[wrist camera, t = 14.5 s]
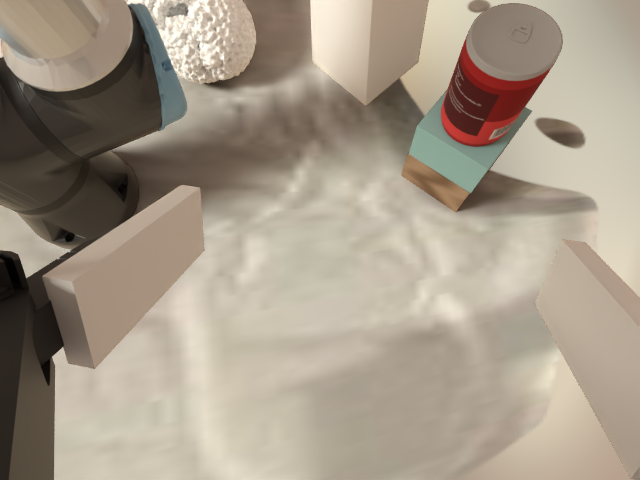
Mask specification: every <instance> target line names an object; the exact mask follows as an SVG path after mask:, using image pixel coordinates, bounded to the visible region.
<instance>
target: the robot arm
mask: <svg viewBox="0 0 640 480" xmlns="http://www.w3.org/2000/svg"><path fill="white" fill-rule="evenodd" d="M0 38H1V48H2V53H3V57H2V58H0V205H2V206H5V207H7V208H9V209H11V210H13V211H15V212H17V213H18V214H19V215H20V216H21V218H22V219H23V220H24V221H25V222H26V223H27V224H28V225H29V226H30V227H31V228H32V230H33V231H34V232H35V233H36V234H37V235H39V236H40V237H41V238H43V239H44V240H46V241H48V242H50V243H53V244H55V245H57V246H60V247H63V248H66V249H72V250H71V251H70V253H69V252H68V253H66V254H64V255H63V256H61V257H60V259H59V260H58V259H56V260H55V261H53V262H52V263H50V264H49V265H47V266H45V267H44V268H42V269H41V270H39V271H38V272H36V273H34V274H33V275H31V276H30V277H28V278H27V279H26V276H25V273H24V270H23V267H22V264H21V261H20V258H19V256H18V254H16V253H14V252H11V251H0V480H54V414H55V365H54V362H53V359H52V356H53V355H54V354H55V353H57V352H58V351H59V350H60V349H61V348H62V347H64V351H65V354H66V357H67V361H68V363H69V364H74V365H78V366H83V367H88V368H93V369H95V368H96V367H97V366H98V365H99V364H100V363H101V362H102V361H103V360H104V358H105V357H106V356H107V355H108V354H109V353H110V352H111V351H112V350H113V349H114V348H115V347H116V345H117V344H118V343H119V342H120V341H121V340H122V339H123V338H124V337H125V336H126V335H127V334H128V332H129V331H130V330H131V329H132V328H133V327H134V326H135V325H136V324H137V323H138V322H139V321H140V319H141V318H142V317H143V316H144V315H145V314H146V313H147V312H148V311H149V310H150V309H151V308H152V306H153V305H154V304H155V303H156V302H157V301H158V300H159V299H160V298H161V297H162V296H163V295H164V293H165V292H166V291H167V290H168V289H169V288H170V287H171V286H172V285H173V284H174V283H175V282H176V280H177V279H178V278H179V277H180V276H181V275H182V274H183V273H184V272H185V271H186V270H187V269H188V267H189V266H190V265H191V264H192V263H193V262H194V261H195V260H196V259H197V258H198V257H199V256H200V254H201V253H202V252H203V251H204V237H203V221H202V206H201V191H200V187H193V186H187V185H180V186H179V187H177V188H176V189H174V190H173V191H171V192H170V193H168V194H167V195H165V196H163V197H162V198H160V199H159V200H157V201H156V202H154V203H153V204H151V205H150V206H148V207H147V208H145V209H144V210H142V211H141V212H139V213H138V214H136V215H135V216H133V217H132V215H133V213H134V211H135V208H136V205H137V202H138V196H139V187H138V181H137V178H136V176H135V174H134V172H133V170H132V169H131V168H130V167H129V165H127V164H126V163H125V162H124V161H123V160H122V159H121V158H120V157H119V156H117V155H116V154H114V153H113V152H111V151H109V150H112V149H114V148H117V147H119V146H122V145H124V144H127V143H129V142H131V141H134V140H136V139H139V138H141V137H144V136H146V135H148V134H151V133H153V132H156V131H160V130H163V129H164V128H165V126H167V125H169V124H171V123H173V122H175V121H177V120H179V119H181V118H182V117H183V116H184V115H185V113H186V111H187V101H186V98H185V95H184V92H183V90H182V87H181V84H180V82H179V79H178V77H177V74H176V72H175V70H174V67H173V65H172V64H171V60H170V58H169V55H168V53H167V50H166V48H165V45H164V43H163V40H162V38H161V36H160V33H159V31H158V29H157V27H156V24H155V22H154V20H153V18H152V16H151V14H150V12H149V10H148V8H147V7H146V6H145V5H144V4H141V3H138V4H133V3H130V4H128V5H127V4H126V2H125V1H124V0H0ZM535 305H536V307H537V309H538V311H539V313H540V315H541V316H542V318H543V320H544V322H545V324H546V325H547V327H548V329H549V331H550V333H551V335H552V336H553V338H554V340H555V342H556V344H557V346H558V347H559V349H560V351H561V353H562V355H563V356H564V358H565V360H566V362H567V364H568V366H569V367H570V369H571V371H572V373H573V375H574V376H575V378H576V380H577V382H578V383H579V386H580V387H581V389H582V391H583V393H584V395H585V397H586V398H587V400H588V402H589V404H590V406H591V407H592V409H593V411H594V413H595V415H596V417H597V418H598V420H599V422H600V424H601V426H602V428H603V429H604V431H605V433H606V435H607V437H608V438H609V440H610V442H611V444H612V446H613V448H614V449H615V451H616V453H617V455H618V457H619V459H620V460H621V462H622V464H623V466H624V468H625V470H626V471H627V473H628V475H629V477H630V479H634V480H640V298H639V297H638V296H637V295H636V294H635V292H633V290H631V288H630V287H629V286H628V285H627V284H626V283H625V282H624V281H623V280H622V279H621V278H620V277H619V276H618V275H617V274H616V273H615V272H614V271H613V270H612V269H611V268H610V267H609V266H608V265H607V264H606V263H605V262H604V261H603V260H602V259H601V258H600V257H599V256H598V255H597V254H596V253H595V252H594V251H593V250H592V249H591V247H590V246H589V245H588V244H587V243H585V242H578V241H571V240H564V239H562V241H561V243H560V245H559V248H558V250H557V252H556V255H555V257H554V259H553V262H552V264H551V266H550V269H549V271H548V274H547V276H546V278H545V281H544V283H543V285H542V288H541V290H540V292H539V295H538V297H537V299H536V302H535Z"/></svg>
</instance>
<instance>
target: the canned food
mask: <svg viewBox="0 0 640 480" xmlns="http://www.w3.org/2000/svg"><path fill="white" fill-rule="evenodd" d="M562 44H563V40H562V34H561V30H560V28H559V27H558V25H557V23H556V22H555V21H554V20H553V18H552V17H551V16H549V15H548V14H547V13H545V12H544V11H542V10H540V9H538V8H536V7H533V6H529V5H525V4H517V3H509V4H501V5H498V6H495V7H492V8H490V9H488V10H486V11H484V12H483V13H482V14H480V15H479V16H478V17H477V18H476V19H475V21H474V22H473V24H472V26H471V28H470V30H469V31H468V34H467V37H466V40H465V42H464V45H463V47H462V50H461V53H460V56H459V59H458V62H457V65H456V68H455V70H454V73H453V76H452V78H451V82H450V84H449V87H448V90H447V93H446V95H445V98H444V101H443V104H442V107H441V120H442V125H443V127H444V130H445V131H446V133H447V134H448V135H449V136H450V137H451V138H452V139H453V140H455V141H456V142H458V143H461V144H463V145H467V146H473V147H479V146H485V145H489V144H491V143H493V142H495V141H497V140H498V139H500V138H501V137H503V136H504V135H505V134H506V133H507V132H508V130H509V129H510V128H511V126H512V125H513V123H514V122H515V120H516V119H517V118H518V116H519V115H520V113H521V112H522V110H523V109H524V107H525V106H526V104H527V103H528V101H529V100H530V99H531V97H532V96H533V94H534V93H535V91H536V90H537V89H538V87H539V85H540V84H541V83H542V81H543V79H544V78H545V77H546V75H547V74H548V73H549V71H550V69H551V68H552V66H553V65H554V63H555V62H556V60H557V58H558V56H559V53H560V52H561V49H562Z"/></svg>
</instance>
